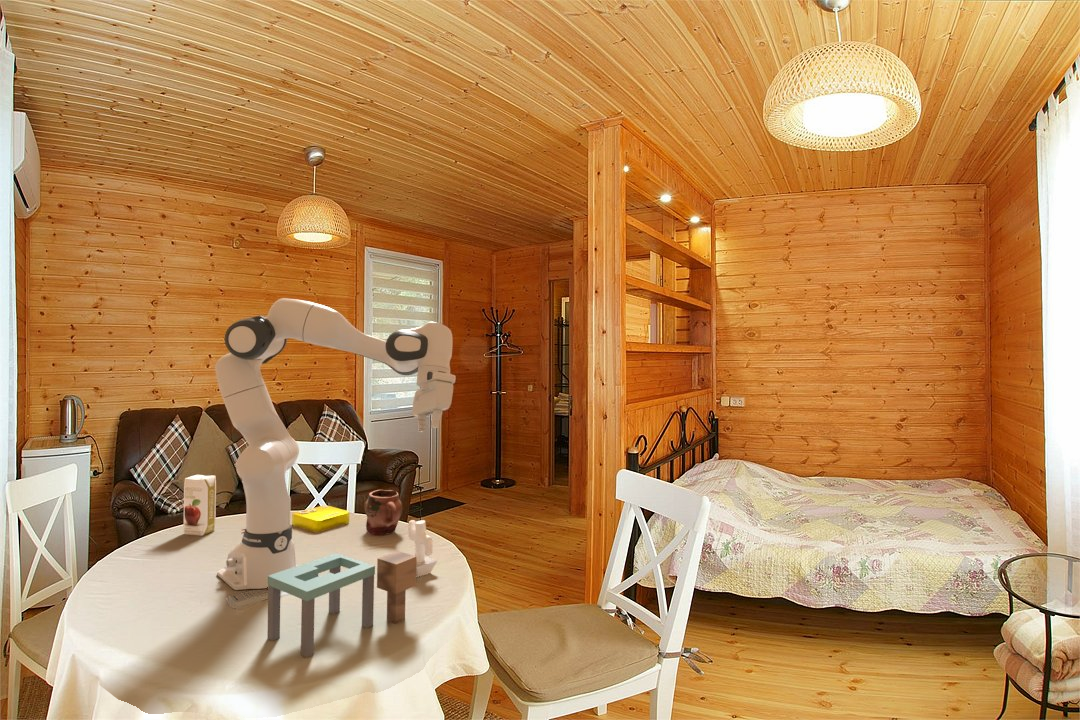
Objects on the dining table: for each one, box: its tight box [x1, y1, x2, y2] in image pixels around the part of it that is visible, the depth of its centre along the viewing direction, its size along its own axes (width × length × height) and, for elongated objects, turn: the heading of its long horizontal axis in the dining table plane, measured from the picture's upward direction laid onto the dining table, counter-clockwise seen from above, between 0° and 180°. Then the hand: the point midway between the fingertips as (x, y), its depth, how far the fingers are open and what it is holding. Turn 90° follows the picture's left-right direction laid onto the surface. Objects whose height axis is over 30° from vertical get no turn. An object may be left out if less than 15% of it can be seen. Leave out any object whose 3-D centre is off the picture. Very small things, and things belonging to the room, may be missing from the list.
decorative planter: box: [363, 489, 403, 537], centre depth 204 cm, size 20×12×14 cm, turn 42°
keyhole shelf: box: [266, 552, 376, 659], centre depth 134 cm, size 18×14×14 cm
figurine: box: [407, 519, 438, 578], centre depth 169 cm, size 7×9×15 cm
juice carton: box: [183, 474, 217, 537], centre depth 199 cm, size 8×9×19 cm
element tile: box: [291, 504, 350, 533], centre depth 213 cm, size 15×15×5 cm
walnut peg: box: [376, 550, 417, 625], centre depth 140 cm, size 6×6×15 cm
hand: (428, 429), depth 159 cm, fingers open, 8 cm apart
